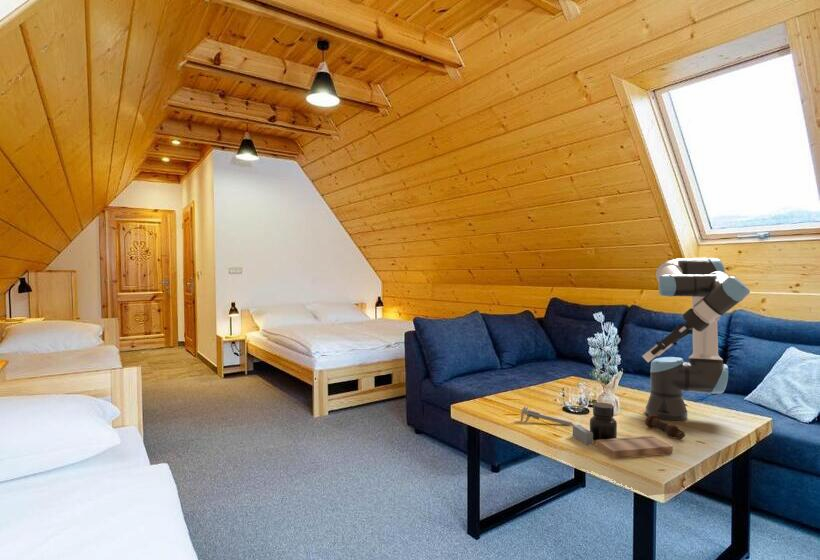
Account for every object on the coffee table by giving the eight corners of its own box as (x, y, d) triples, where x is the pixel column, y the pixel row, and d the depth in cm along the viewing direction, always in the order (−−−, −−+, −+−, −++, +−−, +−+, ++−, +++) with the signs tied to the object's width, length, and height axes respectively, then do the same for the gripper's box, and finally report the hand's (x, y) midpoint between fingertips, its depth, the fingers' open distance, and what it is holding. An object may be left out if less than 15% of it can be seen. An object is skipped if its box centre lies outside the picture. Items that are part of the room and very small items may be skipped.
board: (651, 442, 165) (651, 435, 165) (672, 453, 155) (672, 446, 155) (596, 446, 161) (596, 439, 161) (613, 458, 151) (613, 450, 151)
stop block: (579, 435, 172) (579, 424, 172) (592, 444, 163) (592, 433, 163) (572, 436, 172) (572, 425, 172) (586, 445, 163) (586, 433, 163)
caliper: (520, 422, 188) (520, 406, 188) (521, 421, 189) (521, 405, 189) (575, 426, 182) (575, 410, 182) (575, 425, 183) (575, 409, 183)
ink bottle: (618, 436, 171) (618, 403, 171) (618, 445, 163) (618, 410, 162) (589, 432, 175) (589, 400, 174) (587, 441, 167) (587, 407, 166)
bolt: (679, 446, 166) (649, 430, 181) (690, 438, 167) (659, 423, 182) (672, 432, 165) (643, 418, 180) (683, 424, 166) (653, 410, 181)
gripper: (703, 328, 145) (649, 371, 155) (716, 320, 164) (667, 359, 174) (683, 310, 148) (632, 352, 158) (698, 304, 167) (651, 343, 177)
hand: (650, 356), depth 166 cm, fingers open, 13 cm apart
